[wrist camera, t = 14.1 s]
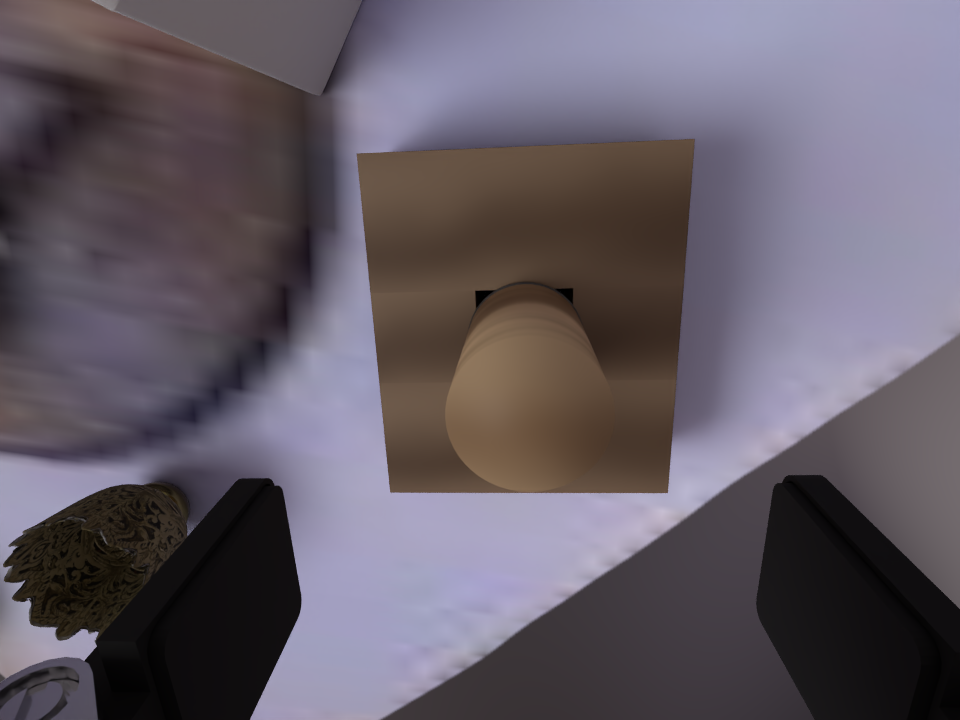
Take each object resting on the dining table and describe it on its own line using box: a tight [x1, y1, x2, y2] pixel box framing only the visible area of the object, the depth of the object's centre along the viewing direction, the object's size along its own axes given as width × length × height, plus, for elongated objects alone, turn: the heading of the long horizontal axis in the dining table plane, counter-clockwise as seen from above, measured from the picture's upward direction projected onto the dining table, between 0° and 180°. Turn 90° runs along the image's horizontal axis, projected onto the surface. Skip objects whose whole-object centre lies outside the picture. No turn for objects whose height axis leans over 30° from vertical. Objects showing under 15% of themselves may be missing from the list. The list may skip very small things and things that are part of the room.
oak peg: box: [445, 282, 615, 492], centre depth 23 cm, size 5×5×14 cm
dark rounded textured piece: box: [3, 482, 190, 643], centre depth 32 cm, size 8×7×8 cm
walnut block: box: [357, 139, 695, 493], centre depth 28 cm, size 16×14×5 cm
